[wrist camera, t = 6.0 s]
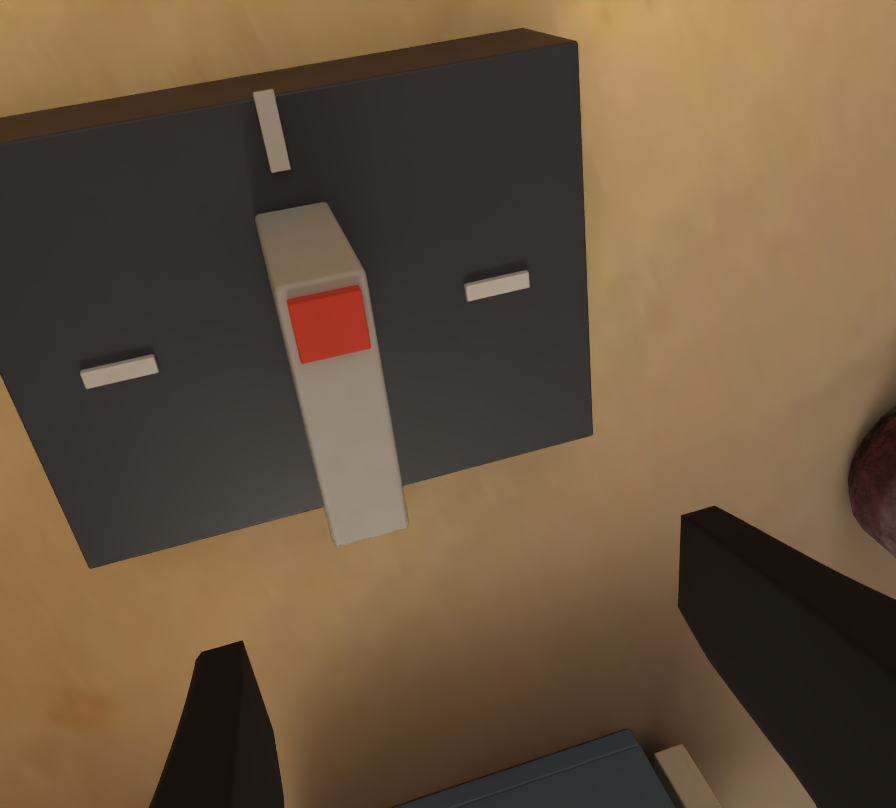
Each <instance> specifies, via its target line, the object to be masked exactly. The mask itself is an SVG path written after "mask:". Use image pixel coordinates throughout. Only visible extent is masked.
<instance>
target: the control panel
mask: <svg viewBox="0 0 896 808" xmlns="http://www.w3.org/2000/svg"><path fill="white" fill-rule="evenodd" d="M321 202H325V203H327V204H328V206H329V207H330V209H331V211H332V213H333V215H334V216H335V218H336V220H337V222H338V224H339V225H340V227H341V229H342V231H343V233H344V234H345V236H346V238H347V240H348V242H349V243H350V245H351V247H352V249H353V251H354V252H355V254H356V256H357V258H358V260H359V261H360V263H361V265H362V267H363V269H364V270H365V272H366V277H367V282H368V288H369V294H370V300H371V306H372V311H373V317H374V323H375V329H376V335H377V340H378V346H379V352H380V358H381V364H382V369H383V375H384V381H385V387H386V392H387V398H388V404H389V410H390V416H391V421H392V427H393V433H394V439H395V445H396V450H397V456H398V462H399V468H400V474H401V479H402V485H403V486H404V485H407V484H411V483H415V482H419V481H423V480H426V479H430V478H434V477H438V476H441V475H445V474H449V473H453V472H456V471H460V470H464V469H468V468H471V467H475V466H479V465H483V464H486V463H490V462H494V461H498V460H501V459H505V458H509V457H513V456H516V455H520V454H524V453H528V452H532V451H535V450H539V449H543V448H547V447H550V446H554V445H558V444H562V443H565V442H569V441H573V440H577V439H580V438H584V437H588V436H592V435H593V424H592V398H591V372H590V346H589V320H588V294H587V268H586V242H585V216H584V190H583V164H582V138H581V112H580V86H579V59H578V43H577V41H574V40H570V39H566V38H561V37H557V36H553V35H549V34H545V33H541V32H537V31H533V30H529V29H525V28H520V29H514V30H508V31H502V32H496V33H490V34H485V35H479V36H473V37H467V38H461V39H456V40H450V41H444V42H438V43H432V44H426V45H421V46H415V47H409V48H403V49H397V50H391V51H386V52H380V53H374V54H368V55H362V56H357V57H351V58H345V59H339V60H333V61H327V62H322V63H316V64H310V65H304V66H298V67H292V68H287V69H281V70H275V71H269V72H263V73H258V74H252V75H246V76H240V77H234V78H228V79H223V80H217V81H211V82H205V83H199V84H193V85H188V86H182V87H176V88H170V89H164V90H159V91H153V92H147V93H141V94H135V95H129V96H124V97H118V98H112V99H106V100H100V101H95V102H89V103H83V104H77V105H71V106H65V107H60V108H54V109H48V110H42V111H36V112H30V113H25V114H19V115H13V116H7V117H1V118H0V375H1V377H2V379H3V381H4V384H5V386H6V388H7V390H8V392H9V394H10V397H11V399H12V401H13V403H14V405H15V408H16V410H17V412H18V414H19V416H20V418H21V421H22V423H23V425H24V427H25V429H26V432H27V434H28V436H29V438H30V440H31V442H32V445H33V447H34V449H35V451H36V453H37V456H38V458H39V460H40V462H41V464H42V467H43V469H44V471H45V473H46V475H47V477H48V480H49V482H50V484H51V486H52V488H53V491H54V493H55V495H56V497H57V499H58V501H59V504H60V506H61V508H62V510H63V512H64V515H65V517H66V519H67V521H68V523H69V525H70V528H71V530H72V532H73V534H74V536H75V539H76V541H77V543H78V545H79V547H80V550H81V552H82V554H83V556H84V558H85V560H86V563H87V565H88V567H89V568H90V569H92V568H96V567H99V566H103V565H107V564H111V563H114V562H118V561H122V560H126V559H129V558H133V557H137V556H141V555H144V554H148V553H152V552H156V551H159V550H163V549H167V548H171V547H174V546H178V545H182V544H186V543H189V542H193V541H197V540H201V539H205V538H208V537H212V536H216V535H220V534H223V533H227V532H231V531H235V530H238V529H242V528H246V527H250V526H253V525H257V524H261V523H265V522H268V521H272V520H276V519H280V518H283V517H287V516H291V515H295V514H298V513H302V512H306V511H310V510H314V509H317V508H321V507H324V505H323V501H322V497H321V493H320V489H319V485H318V481H317V477H316V473H315V469H314V465H313V461H312V457H311V453H310V449H309V445H308V441H307V437H306V433H305V429H304V424H303V420H302V416H301V412H300V407H299V403H298V399H297V395H296V391H295V386H294V382H293V378H292V374H291V370H290V365H289V361H288V357H287V353H286V348H285V344H284V340H283V336H282V332H281V327H280V323H279V319H278V315H277V311H276V306H275V302H274V298H273V294H272V289H271V285H270V281H269V277H268V273H267V268H266V264H265V260H264V256H263V252H262V247H261V243H260V239H259V235H258V230H257V226H256V222H255V217H256V216H257V215H258V214H263V213H268V212H273V211H278V210H284V209H289V208H294V207H299V206H305V205H310V204H315V203H321Z"/></svg>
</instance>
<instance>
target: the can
mask: <svg viewBox="0 0 896 808" xmlns="http://www.w3.org/2000/svg"><path fill="white" fill-rule="evenodd" d="M848 486H849V494H850V501H851V506H852V511H853V515H854V516H855V518H856V519H857V521H858V522H859V524H860V525H861V527H862V528H863V530H865V531H866V532H867V533H868V534H869V535H870V536H872V537H873V538H874V539H875V540H876V541H877V542H878V543H880V544H881V545H882V546H883V547H884V548H885V549H887V550H888V551H889V552H890V553H891V554H892V555H894V556H895V557H896V407H895V408H893V409H892V410H891V411H890V412H888V413H887V414H886V415H885V416H883V417H882V418H881V419H880V421H879V422H878V423H877V424H876V425H875V427H874V428H873V429H872V430H871V431H870V433H869V434H868V435H867V436H866V437H865V438H864V440H863V442H862V444H861V446H860V448H859V450H858V452H857V454H856V456H855V457H854V459H853V462H852V466H851V471H850V475H849V479H848Z"/></svg>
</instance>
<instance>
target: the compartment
mask: <svg viewBox="0 0 896 808" xmlns="http://www.w3.org/2000/svg"><path fill="white" fill-rule="evenodd" d="M393 808H675V806H674V804H673V803H672V801H671V799H670V797H669V796H668V794H667V792H666V790H665V789H664V787H663V785H662V783H661V782H660V780H659V778H658V776H657V775H656V773H655V771H654V769H653V768H652V766H651V764H650V762H649V761H648V759H647V757H646V755H645V753H644V752H643V750H642V748H641V747H640V746H639V743H638V742H637V740H636V738H635V736H634V735H633V733H632V731H631V730H630V729H626V730H623V731H620V732H617V733H614V734H611V735H608V736H606V737H603V738H600V739H597V740H594V741H591V742H588V743H585V744H582V745H579V746H576V747H573V748H570V749H567V750H564V751H561V752H558V753H555V754H552V755H549V756H546V757H543V758H540V759H537V760H534V761H531V762H528V763H525V764H522V765H519V766H516V767H513V768H510V769H507V770H504V771H501V772H498V773H495V774H492V775H489V776H486V777H483V778H480V779H477V780H474V781H471V782H468V783H465V784H462V785H459V786H456V787H453V788H450V789H447V790H444V791H441V792H438V793H435V794H432V795H429V796H426V797H423V798H420V799H417V800H414V801H411V802H408V803H405V804H402V805H399V806H396V807H393Z"/></svg>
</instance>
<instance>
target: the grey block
mask: <svg viewBox="0 0 896 808" xmlns="http://www.w3.org/2000/svg"><path fill="white" fill-rule="evenodd" d="M255 222H256V226H257V230H258V235H259V239H260V243H261V247H262V252H263V256H264V260H265V264H266V268H267V273H268V277H269V281H270V285H271V289H272V294H273V298H274V302H275V306H276V311H277V315H278V319H279V323H280V327H281V332H282V336H283V340H284V344H285V348H286V353H287V357H288V361H289V365H290V370H291V374H292V378H293V382H294V386H295V391H296V395H297V399H298V403H299V407H300V412H301V416H302V420H303V424H304V429H305V433H306V437H307V441H308V445H309V449H310V453H311V457H312V461H313V465H314V469H315V473H316V477H317V481H318V485H319V489H320V493H321V497H322V501H323V505H324V509H325V513H326V517H327V521H328V525H329V529H330V533H331V537H332V541H333V543H334V544H335V545H336V546H341V545H345V544H348V543H352V542H356V541H360V540H363V539H367V538H371V537H375V536H378V535H382V534H386V533H390V532H393V531H397V530H401V529H405V528H407V527H408V524H409V520H408V514H407V508H406V503H405V497H404V491H403V485H402V479H401V474H400V468H399V462H398V456H397V450H396V445H395V439H394V433H393V427H392V421H391V416H390V410H389V404H388V398H387V392H386V387H385V381H384V375H383V369H382V364H381V358H380V352H379V346H378V340H377V335H376V329H375V323H374V317H373V311H372V306H371V300H370V294H369V288H368V282H367V277H366V272H365V270H364V269H363V267H362V265H361V263H360V261H359V260H358V258H357V256H356V254H355V252H354V251H353V249H352V247H351V245H350V243H349V242H348V240H347V238H346V236H345V234H344V233H343V231H342V229H341V227H340V225H339V224H338V222H337V220H336V218H335V216H334V215H333V213H332V211H331V209H330V207H329V206H328V204H327V203H325V202H321V203H315V204H310V205H305V206H299V207H294V208H289V209H284V210H278V211H273V212H268V213H263V214H258V215H257V216H256V217H255Z"/></svg>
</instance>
